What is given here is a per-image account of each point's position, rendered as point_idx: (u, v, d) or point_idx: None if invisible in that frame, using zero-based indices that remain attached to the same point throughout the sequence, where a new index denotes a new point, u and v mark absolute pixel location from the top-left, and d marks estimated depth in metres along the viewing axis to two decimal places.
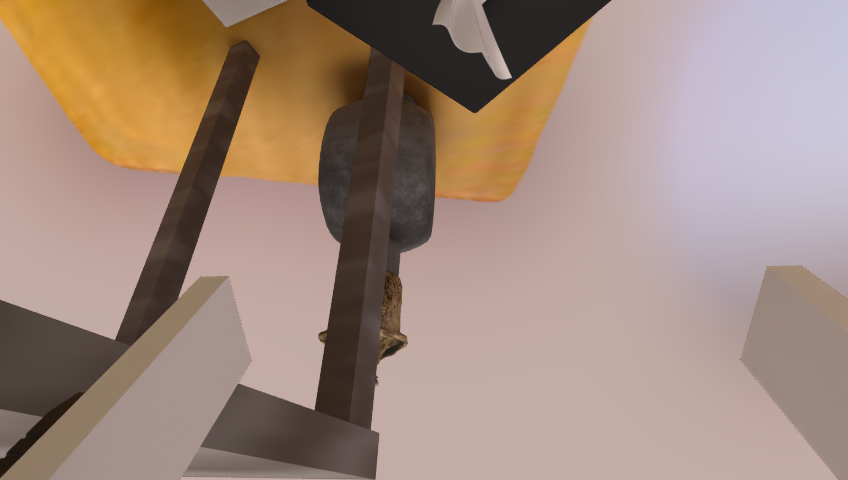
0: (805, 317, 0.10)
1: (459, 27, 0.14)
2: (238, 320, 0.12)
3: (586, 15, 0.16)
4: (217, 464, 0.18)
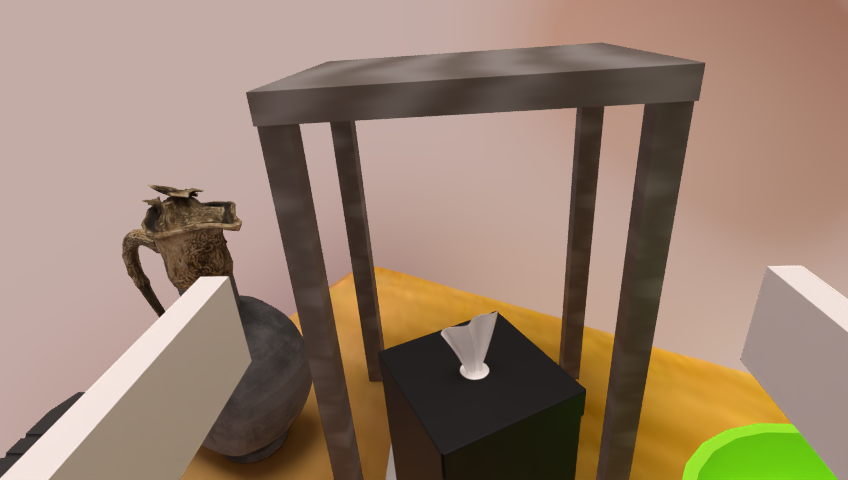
0: (805, 317, 0.10)
1: (476, 333, 0.24)
2: (238, 319, 0.12)
3: (424, 419, 0.22)
4: (356, 78, 0.31)
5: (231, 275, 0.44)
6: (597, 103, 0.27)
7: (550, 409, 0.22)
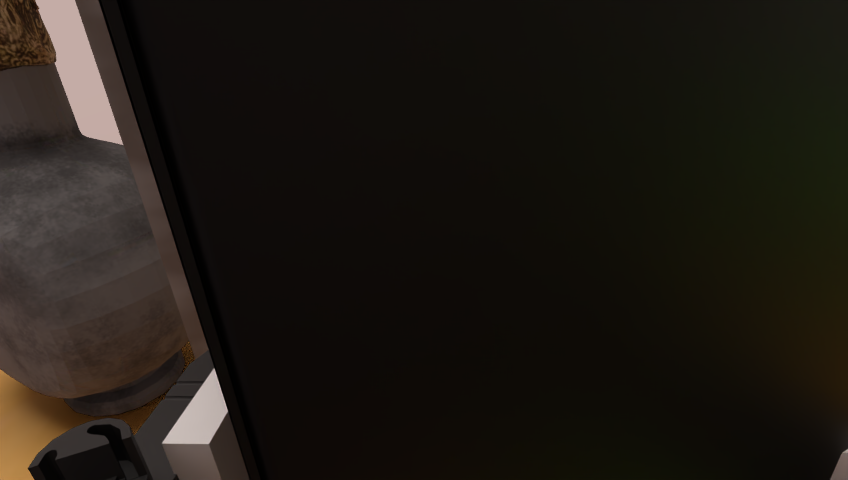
0: None
1: None
2: None
3: None
4: None
5: (49, 71, 0.25)
6: None
7: None
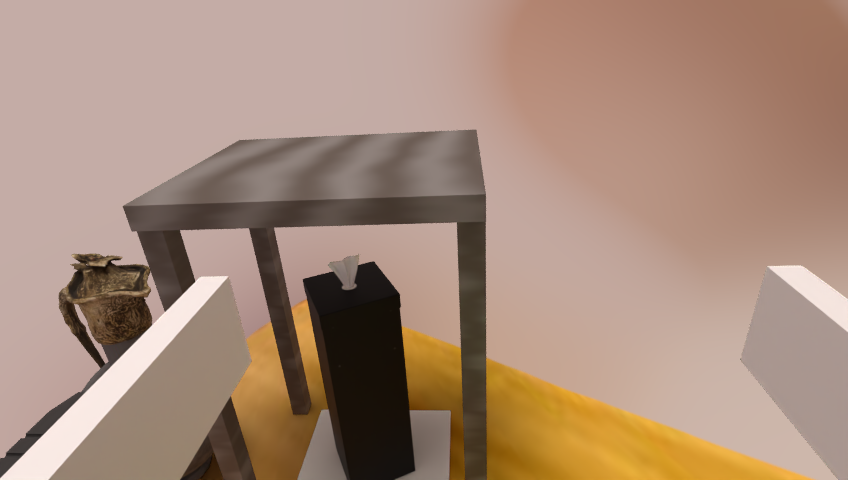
0: (804, 317, 0.10)
1: (348, 266, 0.47)
2: (238, 319, 0.12)
3: (316, 304, 0.45)
4: (225, 186, 0.37)
5: None
6: (405, 221, 0.33)
7: (378, 301, 0.45)
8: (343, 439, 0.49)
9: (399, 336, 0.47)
